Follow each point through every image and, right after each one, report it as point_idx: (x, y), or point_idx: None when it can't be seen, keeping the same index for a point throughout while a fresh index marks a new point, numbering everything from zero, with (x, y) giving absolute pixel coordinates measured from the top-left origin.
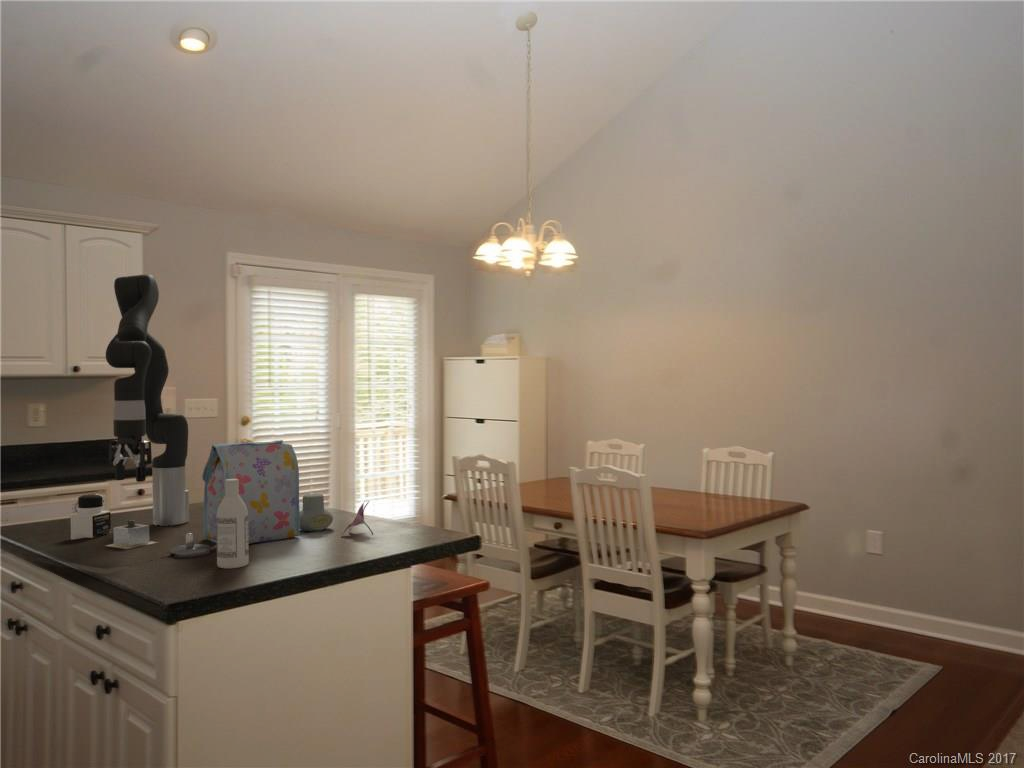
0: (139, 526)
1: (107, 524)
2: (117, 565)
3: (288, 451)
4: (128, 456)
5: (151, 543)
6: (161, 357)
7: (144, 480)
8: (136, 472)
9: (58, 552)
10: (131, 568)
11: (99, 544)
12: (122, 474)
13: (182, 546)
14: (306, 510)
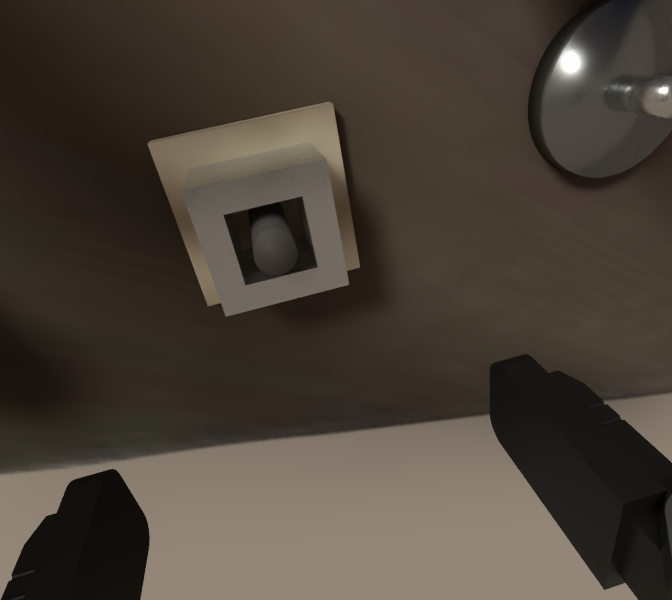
0: (308, 210)
1: None
2: (515, 343)
3: None
4: None
5: (334, 142)
6: None
7: (525, 361)
8: (565, 516)
9: (133, 425)
10: (586, 328)
11: (50, 278)
12: (105, 543)
13: (569, 99)
14: None
